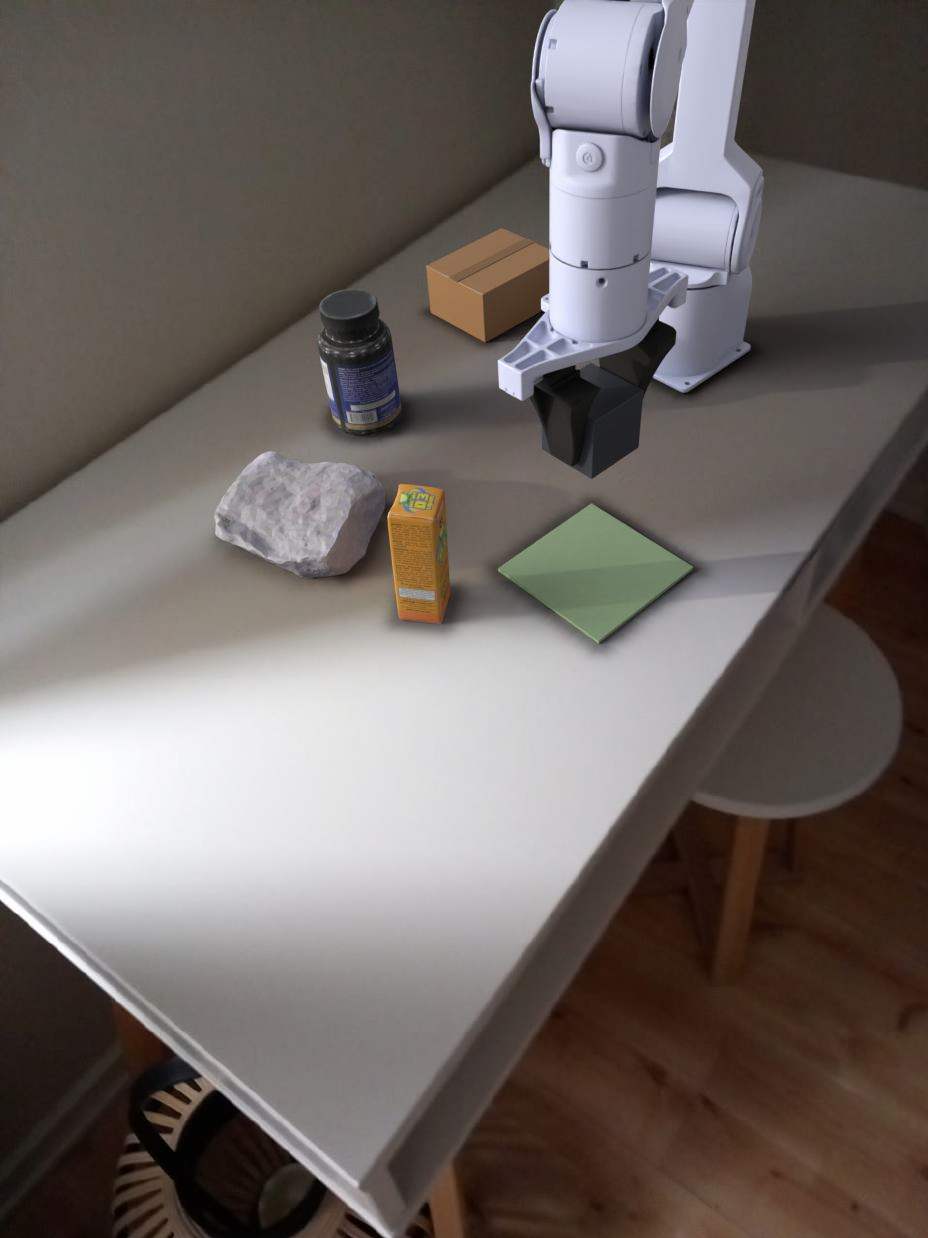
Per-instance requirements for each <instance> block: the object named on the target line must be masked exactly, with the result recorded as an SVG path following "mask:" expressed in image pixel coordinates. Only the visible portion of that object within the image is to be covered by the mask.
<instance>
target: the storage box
mask: <svg viewBox="0 0 928 1238" xmlns="http://www.w3.org/2000/svg"><path fill="white" fill-rule="evenodd" d="M549 252H550V248H548V247H545V246H543V245H541V244H539V243H536V241H535V240H532V239H530V238H528V237H523V236H520V235H519V234H516V233H514V232H512V231H510V230H508V229H505V228H504V227H501V228H499V229H496V230H495V231H493V232H491V233H489V234H487V235H485V236H483V237H480V238H478V239H477V240H474V241H473V242H471V243H468V244H467V245H465V246H463V247H460V248H459V249H457V250H455V251H453V252H451V253H449V254H447V255H445V256H443V257H441V258H438V259H437V260H435V261H432V262H430V263H429V264H427V265H425V270H426V279H427V289H428V298H429V309H430V313H431V314H432V315H434V316H436V317H437V318H440V319H442V320H443V321H445V322H447V323H449V324H450V325H452V326H454V327H455V328H457V329H460V330H462V331H463V332H465V333H467V334H469V335H471V336H472V337H474V338H476V339H478V340H480V341H481V342H484V343H487V342H489V341H491V340H493V339H494V338H497V337H498V336H500V335H502V334H503V333H505V332H507V331H509V330H511V329H512V328H514V327H515V326H518V325H519V324H521V323H523V322H525V321H527V320H529V319H531V318H533V317H534V316H535V315H537V314H539V313H541V312H544V311H543V310H542V309H541V298H542V297H544V296H545V295H547V294H549V262H550V254H549Z"/></svg>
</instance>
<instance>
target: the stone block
mask: <svg viewBox="0 0 928 1238" xmlns="http://www.w3.org/2000/svg"><path fill="white" fill-rule="evenodd" d="M385 508H386V491H385V487H384V486H383V484H381V481H380V479H378V478H377V476H376V475H375V474H374V473H373V472H372V471H371V470H370V469H367V468H364V467H360V466H359V465H357V464H351V463H347V462H338V461H337V462H336V461H335V462H334V461H322V462H315V463H313V462H312V463H310V462H303V461H301V460H298V459H291V458H289V457H287V456H285V455H283V454H281V453H279V452H276V451H269V450H268V451H266V452H263V453H260V455H258V456H256V457H255V459H253V461H251V462H249V463H247V465H246V467H245V468H244V469H243V470H242V472H241V473H240V474H239V475H238V476H237V477H236V479H235V480H234V482H233V483H232V484H231V485H230V486H229V488H228V489H227V490H226V491H225V492H224V494H223V496H222V497H221V499H220V502H219V503H218V505H217V506H216V509H215V511H214V514H213V520H214V523H215V532H214V534H215V536H216V537H217V538H218V539H220V541H221V540H222V541H223V542H226V543H229V544H231V545H233V546H238V547H240V548H242V549H243V550H245V551H247V552H248V553H251V554H253V555H254V556H258V557H260V558H262V559H264V560H265V561H266V562H268V563H270V564H273V565H275V566H277V567H279V568H281V569H283V570H286V571H289V572H291V573H293V574H295V576H298V577H300V578H306V579H314V578H320V577H336V576H339V575H344V574H346V573H348V572H349V571H350V570H351V569H352V568H353V567H354V566H355V565H356V564H357V563H358V562H359V561H360V560H361V559H362V558H364V557H365V556H366V553H367V549H368V546H369V544H370V542H371V538H372V536H373V533H374V532H375V531H376V530H377V528H378V527H377V526H378V524H379V522H380V520H381V517H382V515H383V513H384V511H385Z"/></svg>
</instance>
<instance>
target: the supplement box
mask: <svg viewBox="0 0 928 1238" xmlns="http://www.w3.org/2000/svg"><path fill="white" fill-rule="evenodd" d="M446 505H447V504H446V491H445V489H443V488H438V487H433V486H424V485H417V484H406V483H400V484H399V485H398V488H397V494H396V496H395V499H394V501H393V504H392V507H390V509H389V511H388V513H387V528H388V537H389V546H390V547H389V548H390V557H391V566H392V574H393V581H394V582H393V583H394V591H395V599H396V607H397V614H398V618H399V619H401V620H403V621H412V622H419V623H428V624H429V623H431V624H442V623H443V620H444V617H445V614H446V610H447V607H448V603H449V600H450V597H451V582H450V563H449V562H450V561H449V543H448V524H447V508H446V507H447V506H446Z"/></svg>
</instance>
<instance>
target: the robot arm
mask: <svg viewBox="0 0 928 1238" xmlns="http://www.w3.org/2000/svg"><path fill="white" fill-rule="evenodd" d="M755 7H756V0H563V2H562V3H561V4H560V5H559V8H558V10H557V9H555V8H553V9H550V10H549V11H548V12H546V14H545V15H544V17H543V19H542V21H541V23H540V26H539V29H538V33H537V37H536V40H535V46H534V50H533V58H532V71H531V82H530V98H531V107H532V113H533V117H534V120H535V123H536V125H537V128H538V133H539V158H540V159H541V163H542V165H543V166H544V165H545V167H547V168H549V224H548V225H549V231H548V232H549V241H548V242H549V243H548V245H549V249H550V252H549V254H550V262H549V294H547V295H545V296H544V297H542V298H541V309H542V310H543V311H542V312H544V314H543V315H542V316H541V317H540V318H539V319H538V320H537V321H536V323H535V324H534V325H533V326H532V328H531V329H530V330H529V331H528V332H527V333H526V334H525V336H524V337H523V338H522V339H521V340H520V341H519V343H518V344H517V345H516V346H515V347H514V348H513V349H511V351H510V352H508V353H507V354H505V355H504V356H503V357H500V358H499V359H498V360H497V372H498V374H497V375H498V388H499V389H500V390H502V391H504V392H505V393H506V394H508V395H509V396H512V397H514V398H516V399H517V400H519V401H521V402H523V401H525V400H526V399H529V401H530V402H531V404H532V406H533V408H534V410H535V412H536V415H537V416H538V419H539V422H540V424H541V428H542V427H543V430H544V433H545V436H546V439H547V443H548V446H549V450H550V454H549V455H551V456H552V457H554V458H556V459H557V460H559V461H560V462H562V463H564V464H566V465H567V466H568V467H571V466H572V467H573V466H574V465H576V464H577V463H579V460H580V457H581V454H582V450H583V445H584V435H585V427H586V422H587V418H588V415H589V412H590V409H591V406H592V404H593V402H594V399H595V398H596V396H597V394H598V392H599V391H600V389H601V388H600V387H598V386H596V385H594V384H592V383H590V382H588V381H587V380H585V379H583V378H581V377H580V369H577V365H580V364H584V363H587V362H591V361H594V360H597V359H598V362H599V367H600V368H602V369H604V370H606V371H608V372H610V373H612V374H614V375H615V376H617V377H619V378H621V379H623V380H625V381H627V382H629V383H631V384H633V385H635V386H637V387H638V388H640V389H642V390H643V399H644V398H645V396H646V394H647V393H646V392H647V391H648V388H649V386H650V383H651V382H652V380H653V379H654V380H656V381H658V382H660V383H662V384H664V385H666V386H668V387H670V388H672V389H674V390H676V391H677V392H680V393H682V394H683V393H688V392H690V391H691V390H693V389H695V388H696V387H697V386H699V385H701V384H702V383H703V382H705V381H706V380H708V379H710V378H711V377H713V376H714V375H715V374H717V373H718V372H720V371H721V370H723V369H724V368H727V366H729V365H730V364H732V363H733V362H735V361H736V360H738V359H740V358H741V357H742V356H744V355H746V354H747V353H748V352H750V351H751V347H752V346H751V344H750V343H748V342H746V341H744V337H745V331H746V326H747V321H748V315H749V314H748V313H749V309H750V303H751V296H752V290H753V275H752V270H751V267H750V263H751V260H752V257H753V253H754V250H755V246H756V243H757V239H758V234H759V230H760V223H761V218H762V213H763V212H762V211H763V192H764V191H763V190H764V186H765V185H764V184H765V177H764V176H763V173H764V170H763V169H762V168H761V166H760V165H759V164H758V163H757V162H756V161H755V160H754V159H753V158H751V156H750V155H748V153H747V152H745V151H744V150H743V148H742V147H740V146H739V145H738V143H737V142H736V140H735V136H736V129H737V124H738V116H739V110H740V105H741V104H740V103H741V99H742V92H743V86H744V78H745V72H746V71H745V70H746V65H747V60H748V59H747V58H748V52H749V45H750V38H751V32H752V26H753V19H754V13H755ZM676 100H677V101H676ZM675 103H676V109H675V119H674V127H673V136H672V137H673V138H672V142H670V143H668V144H667V145H665V146H663V147H662V148H661V142H662V140H661V139H662V136H663V135H664V133H665V131H666V130H667V128H668V125H669V122H670V120H671V117H672V113H673V111H674V106H675ZM572 467H571V468H572Z"/></svg>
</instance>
